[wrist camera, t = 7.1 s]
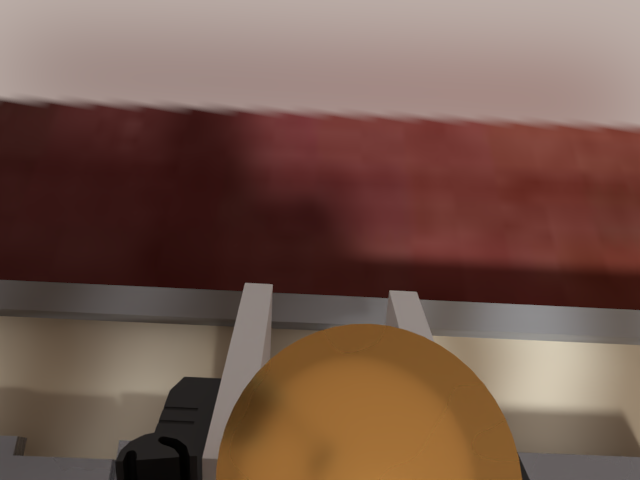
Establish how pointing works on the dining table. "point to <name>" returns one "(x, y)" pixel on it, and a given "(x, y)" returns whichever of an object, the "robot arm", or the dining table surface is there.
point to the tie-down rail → (286, 328)
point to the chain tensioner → (357, 421)
